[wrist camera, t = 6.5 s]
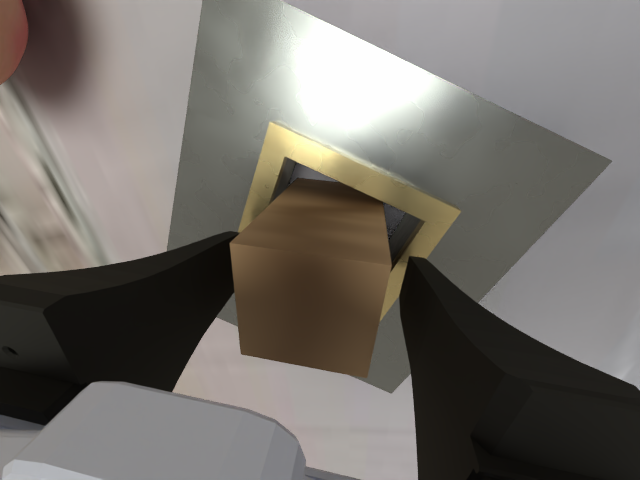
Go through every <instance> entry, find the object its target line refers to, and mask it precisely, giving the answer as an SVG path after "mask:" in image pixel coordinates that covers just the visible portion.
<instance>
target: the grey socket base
mask: <svg viewBox="0 0 640 480" xmlns="http://www.w3.org/2000/svg"><path fill="white" fill-rule="evenodd" d="M296 162H298V163H300V164H303V165H305V166H307V167H309V168H311V169H313V170H316V171H318V172H320V173H322V174H324V175H326V176H329V177H331V178H333V179H335V180H337V181H339V182H341V183H344V184H346V185H348V186H350V187H352V188H354V189H357V190H359V191H361V192H363V193H365V194H367V195H370V196H372V197H374V198H376V199H378V200H380V201H383V202H385V203H387V204H389V205H391V206H393V207H395V208H398V209H400V210H402V211H404V212H406V214H405V215H404V217H403V219H402V220H401V222H400V223H399V225H398V227H397V228H396V230H395V231H394V233H393V235H392V236H391V238H390V239H389V241H388V243H389V250H390V257H391V264H392V267H391V271H390V276H389V280H388V285H387V290H386V294H385V299H384V303H383V308H382V313H381V317H380V322H379V326H378V331H377V335H376V340H375V345H374V349H373V354H372V358H371V363H370V368H369V372H368V377H367V378H363V377H357V376H352V375H350V376H352V377H355V378H357V379H359V380H362V381H364V382H366V383H368V384H371V385H373V386H375V387H378V388H380V389H382V390H384V391H387V392H389V393H391V394H392V392H393V391H394V390H395V389H396V388H397V387H398V386H399V385H400V384H401V383H402V382H403V381H404V380H405V379H406V378H407V377H408V376H409V375H410V374H411V370H410V364H409V359H408V354H407V349H406V344H405V339H404V334H403V329H402V323H401V318H400V304H399V294H400V290H401V286H402V282H403V278H404V274H405V270H406V266H407V262H408V258H409V256H415V257H423V258H426V259H427V260H428V261H429V262H430V263H432V264H433V265H434V266H435V267H436V268H437V269H438V270H439V271H440V272H441V273H442V274H443V275H445V276H446V277H447V278H448V279H449V280H450V281H451V282H452V283H453V284H455V285H456V286H457V287H458V288H459V289H460V290H462V291H463V292H464V293H465V294H467V295H468V296H469V297H470V298H472V299H473V300H474V301H475V302H477V303H478V302H479V301H480V300H481V299H482V298H483V297H484V296H485V295H486V294H487V293H488V292H489V290H490V289H491V288H492V287H493V286H494V285H495V284H496V283H497V282H498V281H499V280H500V279H501V278H502V277H503V276H504V275H505V274H506V273H507V272H508V270H509V269H510V268H511V267H512V266H513V265H514V264H515V263H516V262H517V261H518V260H519V259H520V258H521V257H522V256H523V255H524V254H525V253H526V252H527V250H528V249H529V248H530V247H531V246H532V245H533V244H534V243H535V242H536V241H537V240H538V239H539V238H540V237H541V236H542V235H543V234H544V233H545V232H546V231H547V229H548V228H549V227H550V226H551V225H552V224H553V223H554V222H555V221H556V220H557V219H558V218H559V217H560V216H561V215H562V214H563V213H564V212H565V211H566V209H567V208H568V207H569V206H570V205H571V204H572V203H573V202H574V201H575V200H576V199H577V198H578V197H579V196H580V195H581V194H582V193H583V192H584V191H585V189H586V188H587V187H588V186H589V185H590V184H591V183H592V182H593V181H594V180H595V179H596V178H597V177H598V176H599V175H600V174H601V173H602V172H603V171H604V170H605V168H606V167H607V166H608V165H609V164H610V163H611V162H612V161H611V160H609V159H607V158H605V157H603V156H601V155H599V154H597V153H595V152H593V151H591V150H589V149H587V148H584V147H582V146H580V145H578V144H576V143H574V142H572V141H570V140H568V139H566V138H564V137H562V136H560V135H558V134H556V133H553V132H551V131H549V130H547V129H545V128H543V127H541V126H539V125H537V124H535V123H533V122H531V121H529V120H527V119H525V118H522V117H520V116H518V115H516V114H514V113H512V112H510V111H508V110H506V109H504V108H502V107H500V106H498V105H496V104H494V103H491V102H489V101H487V100H485V99H483V98H481V97H479V96H477V95H475V94H473V93H471V92H469V91H467V90H465V89H463V88H460V87H458V86H456V85H454V84H452V83H450V82H448V81H446V80H444V79H442V78H440V77H438V76H436V75H434V74H432V73H429V72H427V71H425V70H423V69H421V68H419V67H417V66H415V65H413V64H411V63H409V62H407V61H405V60H403V59H401V58H398V57H396V56H394V55H392V54H390V53H388V52H386V51H384V50H382V49H380V48H378V47H376V46H374V45H372V44H370V43H367V42H365V41H363V40H361V39H359V38H357V37H355V36H353V35H351V34H349V33H347V32H345V31H343V30H341V29H339V28H336V27H334V26H332V25H330V24H328V23H326V22H324V21H322V20H320V19H318V18H316V17H314V16H312V15H310V14H308V13H305V12H303V11H301V10H299V9H297V8H295V7H293V6H291V5H289V4H287V3H285V2H283V1H281V0H203V1H202V8H201V15H200V22H199V29H198V36H197V43H196V50H195V57H194V64H193V71H192V78H191V85H190V92H189V99H188V106H187V113H186V120H185V127H184V134H183V141H182V148H181V155H180V162H179V169H178V176H177V183H176V190H175V197H174V204H173V211H172V218H171V225H170V232H169V239H168V246H167V251H170V250H173V249H176V248H179V247H182V246H185V245H188V244H191V243H194V242H197V241H200V240H202V239H205V238H208V237H211V236H214V235H217V234H220V233H223V232H228V231H233V232H240V233H241V232H242V231H243V230H244V229H245V228H246V227H247V226H248V225H249V224H250V223H251V222H252V221H253V220H254V219H255V218H256V217H257V216H258V215H259V214H260V213H262V212H263V211H264V210H265V209H266V208H267V207H268V206H269V205H270V204H271V203H272V202H273V201H274V200H275V199H276V198H277V197H278V196H279V195H280V194H281V193H282V192H283V191H284V190H286V189H287V186H288V183H289V181H290V178H291V175H292V172H293V170H294V167H295V164H296ZM217 318H220V319H222V320H224V321H227V322H229V323H231V324H233V325H236V326H238V321H237V311H236V301H235V292H234V293H233V295H232V296H231V298H230V299H229V300H228V302H227V303H226V304H225V306H224V307H223V309H222V310H221V311H220V313H219V314H218V315H217Z"/></svg>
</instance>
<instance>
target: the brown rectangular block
mask: <svg viewBox="0 0 640 480" xmlns="http://www.w3.org/2000/svg"><path fill="white" fill-rule="evenodd" d="M230 251H231V261H232V271H233V281H234V291H235V301H236V311H237V321H238V330H239V340H240V350H241V354H242V355H248V356H253V357H258V358H263V359H269V360H274V361H279V362H284V363H289V364H295V365H300V366H305V367H310V368H316V369H321V370H326V371H331V372H336V373H342V374H347V375H352V376H357V377H363V378H367V377H368V372H369V368H370V363H371V358H372V354H373V349H374V345H375V340H376V335H377V331H378V326H379V322H380V317H381V313H382V308H383V303H384V299H385V294H386V290H387V285H388V280H389V276H390V271H391V267H392V264H391V257H390V250H389V243H388V236H387V228H386V221H385V214H384V207H383V201H380V200H378V199H376V198H374V197H372V196H370V195H367V194H365V193H363V192H361V191H359V190H357V189H354V188H352V187H350V186H348V185H346V184H344V183H341V182H331V181H322V180H312V179H303V178H297V179H296V180H295V181H294V182H293V183H292V184H291V185H290V186H289V187H288V188H287V189H286V190H284V191H283V192H282V193H281V194H280V195H279V196H278V197H277V198H276V199H275V200H274V201H273V202H272V203H271V204H270V205H269V206H268V207H267V208H266V209H265V210H264V211H263V212H262V213H260V214H259V215H258V216H257V217H256V218H255V219H254V220H253V221H252V222H251V223H250V224H249V225H248V226H247V227H246V228H245V229H244V230H243V231H242V232H241V233H240V234H239V235H238V236H236V237H235V238H234V239H233V240H232V241H231V242H230Z"/></svg>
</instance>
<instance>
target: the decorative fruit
mask: <svg viewBox="0 0 640 480" xmlns="http://www.w3.org/2000/svg"><path fill="white" fill-rule="evenodd" d="M27 41H28V22H27V17H26V13H25V9H24V6H23V3H22V0H0V85H1V84H2V83H3V82H5V81H6V80H7V79H8V78H9V77H10V76H11V75H12V74H13V73H14V71H15V70H16V68H17V67H18V65H19V63H20V61H21V58H22V56H23V54H24V51H25V49H26V45H27Z"/></svg>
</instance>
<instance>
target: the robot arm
mask: <svg viewBox="0 0 640 480" xmlns="http://www.w3.org/2000/svg"><path fill="white" fill-rule="evenodd" d="M239 234H240V232H233V231H228V232H223V233H220V234H217V235H214V236H211V237H208V238H205V239H202V240H200V241H197V242H194V243H191V244H188V245H185V246H182V247H179V248H176V249H173V250H170V251H167V252H164V253H160V254H157V255H153V256H149V257H145V258H141V259H137V260H132V261H127V262H122V263H116V264H111V265H105V266H100V267H93V268H85V269H77V270H68V271H59V272H47V273H32V274H16V275H3V276H0V480H360V479H356V478H352V477H348V476H344V475H339V474H335V473H331V472H327V471H323V470H319V469H314V468H310V467H306V459H305V457H304V454H303V452H302V449H301V446H300V444H299V441H298V440H297V438H296V437H295V435H293V434H292V433H291V432H290V431H289V430H287V429H286V428H285V427H284V426H282V425H281V424H280V423H279V422H278V421H276V420H275V419H272V418H270V417H267V416H265V415H262V414H259V413H257V412H254V411H252V410H249V409H245V408H241V407H236V406H232V405H227V404H223V403H218V402H213V401H209V400H204V399H200V398H195V397H191V396H186V395H181V394H177V393H172V391H173V389H174V387H175V385H176V383H177V381H178V379H179V377H180V375H181V374H182V372H183V370H184V368H185V366H186V364H187V363H188V361H189V359H190V357H191V355H192V354H193V352H194V350H195V348H196V347H197V345H198V343H199V341H200V340H201V338H202V336H203V335H204V333H205V332H206V330H207V329H208V328H209V326H210V325H211V323H212V322H213V321H214V319H215V318H216V317H217V315H218V314H219V313H220V311H221V310H222V309H223V307H224V306H225V304H226V303H227V302H228V300H229V299H230V298H231V296H232V295H233V293H234V292H235V291H234V281H233V271H232V261H231V251H230V242H231V241H232V240H233V239H234V238H235V237H236V236H238V235H239ZM399 304H400V318H401V323H402V329H403V334H404V339H405V344H406V349H407V354H408V359H409V364H410V370H411V377H412V388H413V399H414V412H415V427H416V444H417V462H418V480H640V390H639V389H638V388H637V387H635V386H634V385H632V384H629V383H627V382H625V381H622V380H620V379H618V378H615V377H613V376H611V375H609V374H606V373H604V372H602V371H599V370H597V369H595V368H592V367H590V366H588V365H586V364H583V363H581V362H579V361H577V360H575V359H573V358H571V357H569V356H567V355H565V354H562V353H560V352H558V351H556V350H554V349H552V348H550V347H548V346H547V345H545V344H543V343H541V342H539V341H537V340H535V339H533V338H532V337H530V336H528V335H526V334H525V333H523V332H521V331H519V330H518V329H516V328H514V327H513V326H511V325H509V324H508V323H506V322H504V321H503V320H501V319H500V318H498V317H497V316H495V315H494V314H492V313H491V312H489V311H488V310H486V309H485V308H484V307H482V306H481V305H479V304H478V303H477V302H475V301H474V300H473V299H472V298H470V297H469V296H468V295H467V294H465V293H464V292H463V291H462V290H460V289H459V288H458V287H457V286H456V285H455V284H453V283H452V282H451V281H450V280H449V279H448V278H447V277H446V276H445V275H443V274H442V273H441V272H440V271H439V270H438V269H437V268H436V267H435V266H434V265H433V264H432V263H430V262H429V261H428V260H427V259H426V258H423V257H415V256H409V258H408V262H407V266H406V270H405V274H404V278H403V282H402V286H401V290H400V294H399Z"/></svg>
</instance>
